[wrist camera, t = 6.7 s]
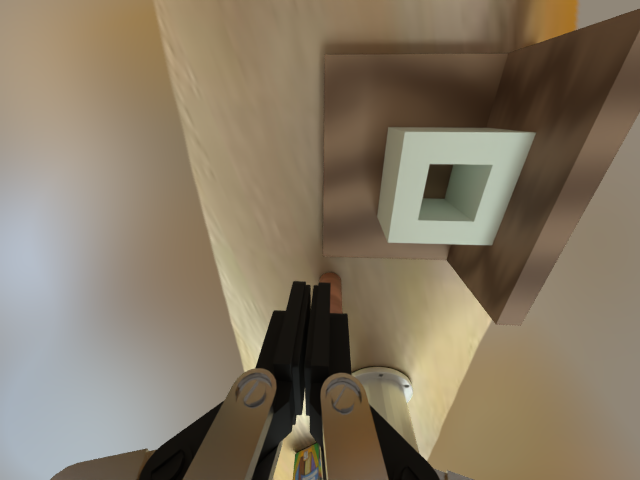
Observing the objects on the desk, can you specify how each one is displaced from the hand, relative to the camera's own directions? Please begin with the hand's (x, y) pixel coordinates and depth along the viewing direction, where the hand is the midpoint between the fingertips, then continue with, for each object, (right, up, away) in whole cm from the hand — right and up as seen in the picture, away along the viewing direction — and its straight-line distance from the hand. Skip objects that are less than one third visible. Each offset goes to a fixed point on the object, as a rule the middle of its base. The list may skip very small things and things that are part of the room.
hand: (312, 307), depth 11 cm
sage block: (+11, +10, +13) cm, 20 cm away
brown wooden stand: (+10, +10, +15) cm, 21 cm away
